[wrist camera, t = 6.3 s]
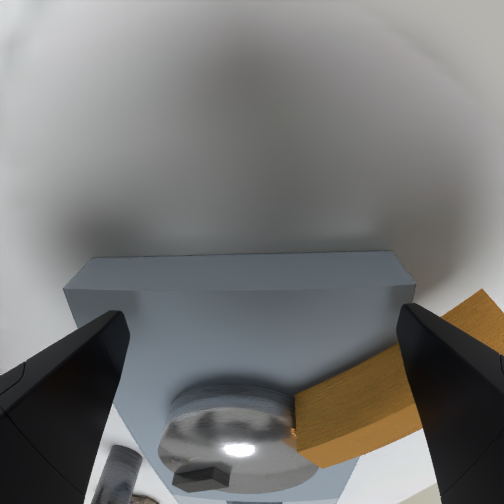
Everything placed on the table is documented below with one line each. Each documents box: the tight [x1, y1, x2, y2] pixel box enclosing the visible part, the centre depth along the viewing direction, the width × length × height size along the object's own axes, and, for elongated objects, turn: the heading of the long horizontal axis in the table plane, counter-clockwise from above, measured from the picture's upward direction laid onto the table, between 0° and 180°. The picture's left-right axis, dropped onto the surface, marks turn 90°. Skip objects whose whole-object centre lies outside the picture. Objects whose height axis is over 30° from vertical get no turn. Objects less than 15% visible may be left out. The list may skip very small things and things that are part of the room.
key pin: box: [91, 446, 142, 504], centre depth 16 cm, size 3×3×8 cm
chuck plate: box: [63, 251, 416, 504], centre depth 16 cm, size 12×26×2 cm, turn 3°
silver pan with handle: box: [158, 289, 504, 494], centre depth 10 cm, size 6×14×3 cm, turn 127°
